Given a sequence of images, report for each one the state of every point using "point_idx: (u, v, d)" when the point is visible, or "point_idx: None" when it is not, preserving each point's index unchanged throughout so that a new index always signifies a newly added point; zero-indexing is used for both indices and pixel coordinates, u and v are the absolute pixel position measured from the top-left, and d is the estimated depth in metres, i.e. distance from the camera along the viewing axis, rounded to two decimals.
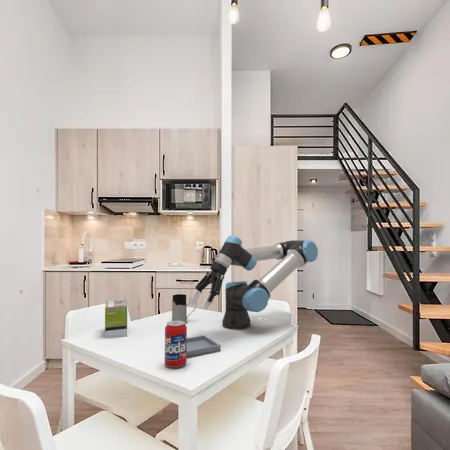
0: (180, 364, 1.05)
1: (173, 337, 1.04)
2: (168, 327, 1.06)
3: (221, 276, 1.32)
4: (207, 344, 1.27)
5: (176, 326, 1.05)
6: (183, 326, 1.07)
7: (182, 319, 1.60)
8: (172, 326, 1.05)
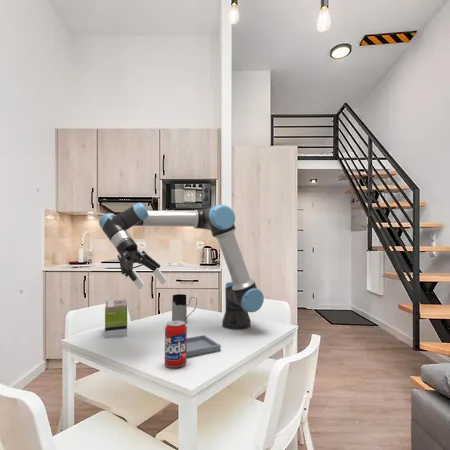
0: (180, 364, 1.05)
1: (173, 337, 1.04)
2: (168, 327, 1.06)
3: (119, 255, 1.13)
4: (207, 344, 1.27)
5: (176, 326, 1.05)
6: (183, 326, 1.07)
7: (182, 319, 1.60)
8: (172, 326, 1.05)
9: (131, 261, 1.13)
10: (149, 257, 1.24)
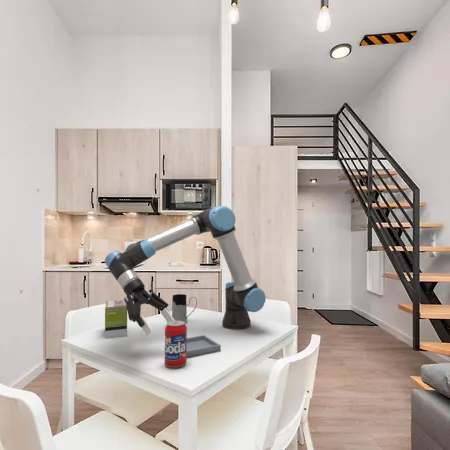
0: (180, 364, 1.05)
1: (173, 337, 1.04)
2: (168, 327, 1.06)
3: (126, 298, 1.09)
4: (207, 344, 1.27)
5: (176, 326, 1.05)
6: (183, 326, 1.07)
7: (182, 319, 1.60)
8: (172, 326, 1.05)
9: (138, 304, 1.09)
10: (156, 296, 1.20)
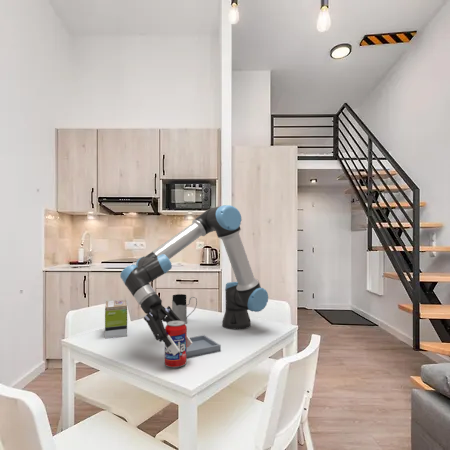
0: (180, 364, 1.05)
1: (173, 337, 1.04)
2: (168, 327, 1.06)
3: (146, 318, 1.06)
4: (207, 344, 1.27)
5: (176, 326, 1.05)
6: (183, 326, 1.07)
7: (182, 319, 1.60)
8: (172, 326, 1.05)
9: (161, 322, 1.07)
10: (174, 314, 1.16)
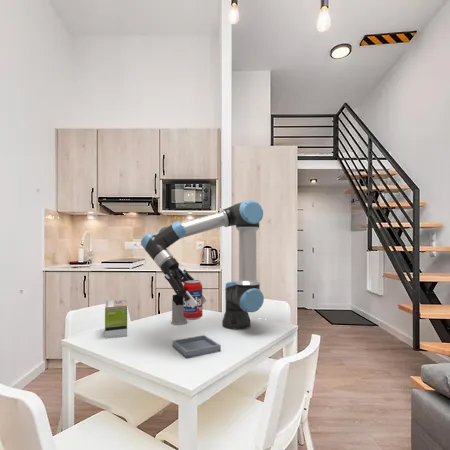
0: (197, 316, 1.19)
1: (191, 292, 1.18)
2: (186, 284, 1.20)
3: (167, 277, 1.20)
4: (207, 344, 1.27)
5: (193, 283, 1.19)
6: (199, 283, 1.21)
7: (182, 319, 1.60)
8: (190, 283, 1.19)
9: (179, 281, 1.21)
10: (189, 276, 1.30)
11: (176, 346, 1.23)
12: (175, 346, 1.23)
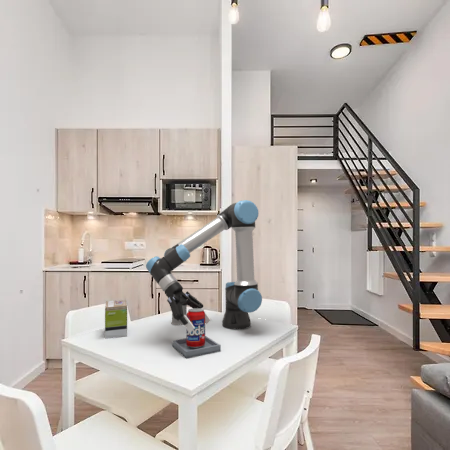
0: (200, 345, 1.21)
1: (194, 321, 1.21)
2: (189, 313, 1.23)
3: (169, 300, 1.22)
4: (207, 344, 1.27)
5: (196, 312, 1.22)
6: (202, 312, 1.24)
7: None
8: (193, 312, 1.22)
9: (180, 305, 1.22)
10: (193, 297, 1.34)
11: (176, 346, 1.23)
12: (175, 346, 1.23)
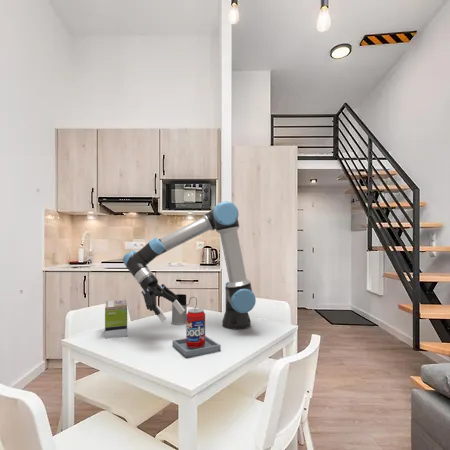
0: (200, 346, 1.21)
1: (194, 322, 1.21)
2: (189, 314, 1.22)
3: (143, 292, 1.28)
4: (207, 344, 1.27)
5: (196, 313, 1.22)
6: (202, 313, 1.23)
7: (182, 319, 1.60)
8: (193, 313, 1.22)
9: (154, 296, 1.28)
10: (168, 289, 1.39)
11: (176, 346, 1.23)
12: (175, 346, 1.23)
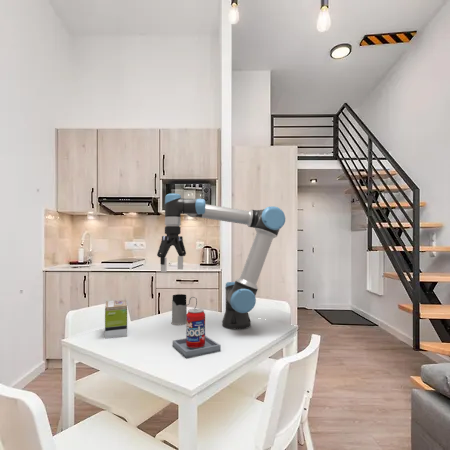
0: (200, 346, 1.21)
1: (194, 322, 1.21)
2: (189, 314, 1.22)
3: (163, 237, 1.37)
4: (207, 344, 1.27)
5: (196, 313, 1.22)
6: (202, 313, 1.23)
7: (182, 319, 1.60)
8: (193, 313, 1.22)
9: (168, 247, 1.38)
10: (182, 244, 1.49)
11: (176, 346, 1.23)
12: (175, 346, 1.23)
